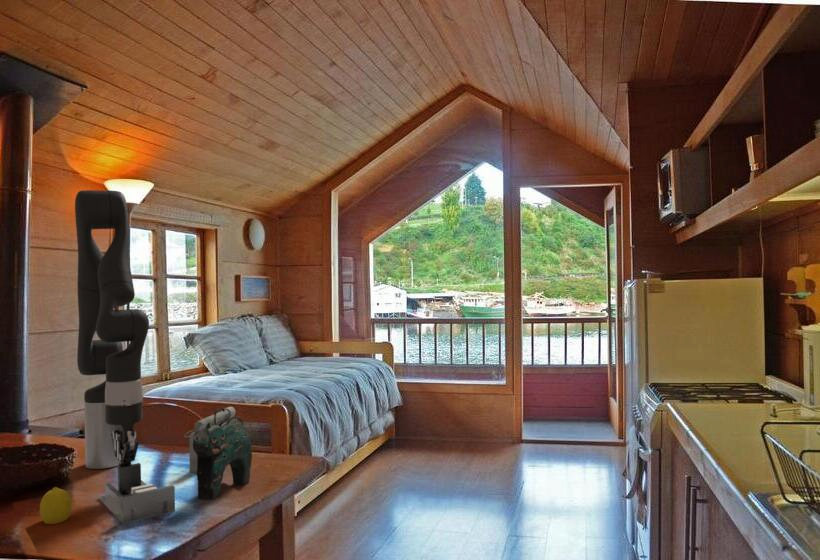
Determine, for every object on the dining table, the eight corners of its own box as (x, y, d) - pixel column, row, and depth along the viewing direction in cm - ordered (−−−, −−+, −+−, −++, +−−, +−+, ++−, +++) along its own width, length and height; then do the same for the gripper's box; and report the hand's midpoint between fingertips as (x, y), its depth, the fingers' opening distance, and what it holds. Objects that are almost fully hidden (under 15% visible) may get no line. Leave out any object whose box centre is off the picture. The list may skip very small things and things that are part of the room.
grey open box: (97, 504, 139) (97, 474, 139) (145, 493, 145) (144, 465, 145) (123, 531, 123) (122, 497, 123) (175, 518, 130) (174, 486, 130)
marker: (131, 512, 129) (130, 487, 129) (152, 507, 132) (151, 483, 132) (137, 517, 126) (136, 492, 126) (158, 512, 129) (157, 487, 129)
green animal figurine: (212, 509, 134) (211, 415, 134) (185, 507, 136) (184, 414, 136) (257, 480, 154) (256, 397, 154) (233, 479, 155) (231, 397, 155)
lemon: (48, 523, 128) (47, 483, 128) (76, 521, 129) (76, 482, 129) (34, 534, 123) (33, 492, 123) (64, 532, 123) (63, 491, 123)
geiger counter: (203, 422, 156) (249, 402, 180) (179, 421, 157) (228, 401, 181) (204, 479, 156) (249, 451, 180) (180, 477, 157) (229, 450, 181)
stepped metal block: (118, 499, 136) (117, 466, 136) (139, 494, 139) (139, 462, 139) (130, 511, 129) (129, 476, 129) (152, 506, 132) (152, 472, 132)
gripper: (98, 398, 142) (99, 475, 143) (113, 407, 132) (114, 490, 132) (133, 394, 147) (134, 468, 147) (150, 402, 137) (152, 482, 137)
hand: (125, 478), depth 140 cm, fingers closed
